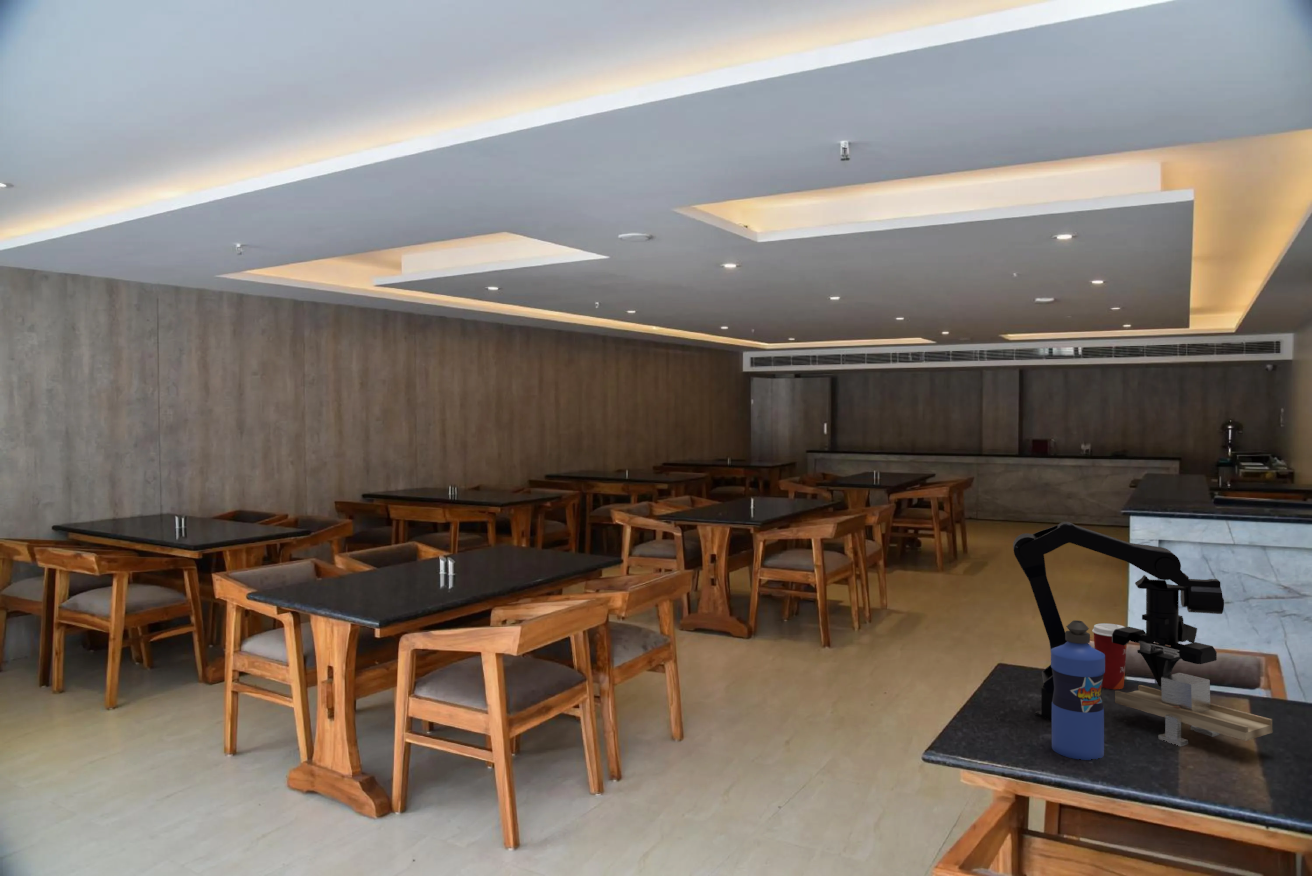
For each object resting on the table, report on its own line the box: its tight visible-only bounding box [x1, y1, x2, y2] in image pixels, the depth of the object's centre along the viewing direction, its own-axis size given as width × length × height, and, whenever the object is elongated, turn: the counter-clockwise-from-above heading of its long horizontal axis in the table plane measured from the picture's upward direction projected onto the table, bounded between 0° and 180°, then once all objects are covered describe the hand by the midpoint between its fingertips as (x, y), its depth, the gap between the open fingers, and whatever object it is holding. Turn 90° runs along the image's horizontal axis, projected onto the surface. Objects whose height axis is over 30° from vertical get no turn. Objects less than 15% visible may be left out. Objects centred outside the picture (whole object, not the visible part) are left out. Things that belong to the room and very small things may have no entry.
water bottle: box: [1050, 619, 1105, 761], centre depth 166 cm, size 9×9×25 cm
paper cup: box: [1091, 622, 1128, 690], centre depth 204 cm, size 8×8×14 cm
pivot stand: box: [1157, 714, 1220, 747], centre depth 172 cm, size 13×4×5 cm, turn 117°
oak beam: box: [1114, 684, 1273, 742], centre depth 172 cm, size 8×26×4 cm, turn 27°
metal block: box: [1160, 672, 1211, 713], centre depth 173 cm, size 6×6×6 cm
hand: (1162, 686), depth 177 cm, fingers closed
